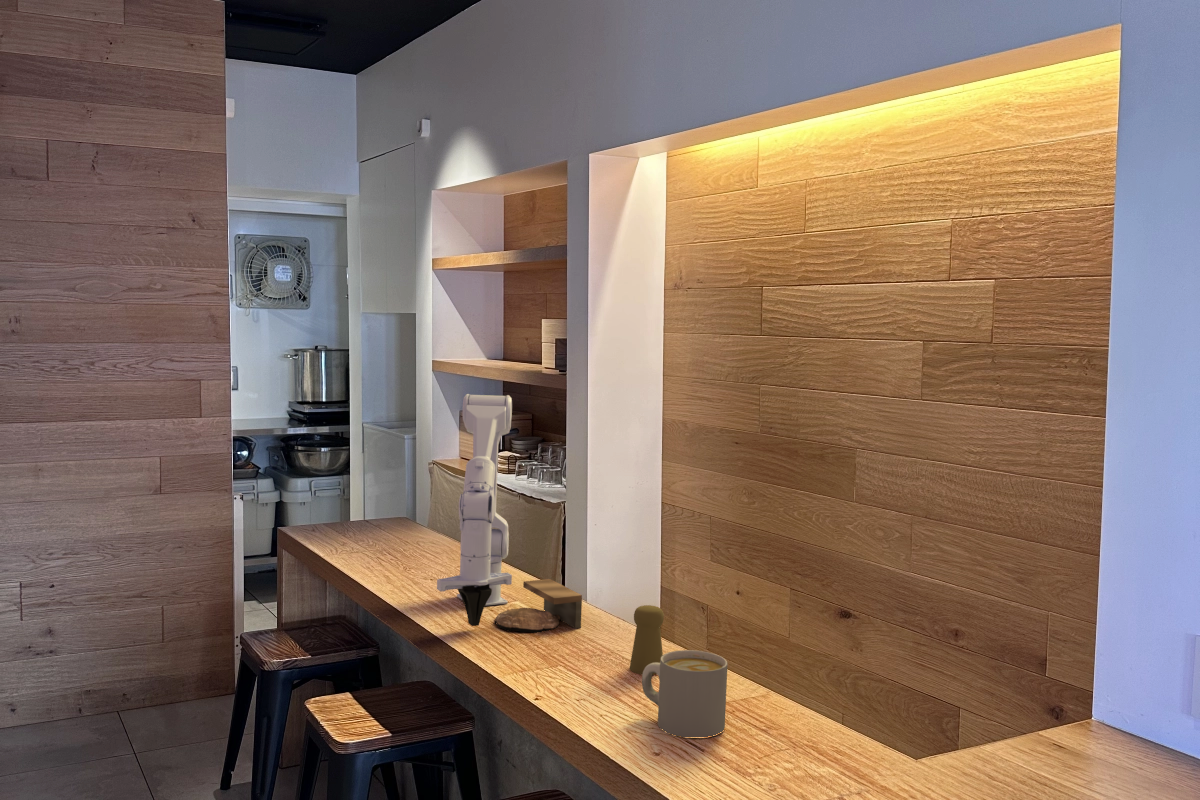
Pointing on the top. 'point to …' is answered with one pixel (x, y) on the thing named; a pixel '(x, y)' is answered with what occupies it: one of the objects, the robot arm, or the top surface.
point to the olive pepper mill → (647, 638)
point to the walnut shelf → (558, 600)
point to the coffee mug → (689, 692)
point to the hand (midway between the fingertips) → (473, 624)
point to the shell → (527, 620)
